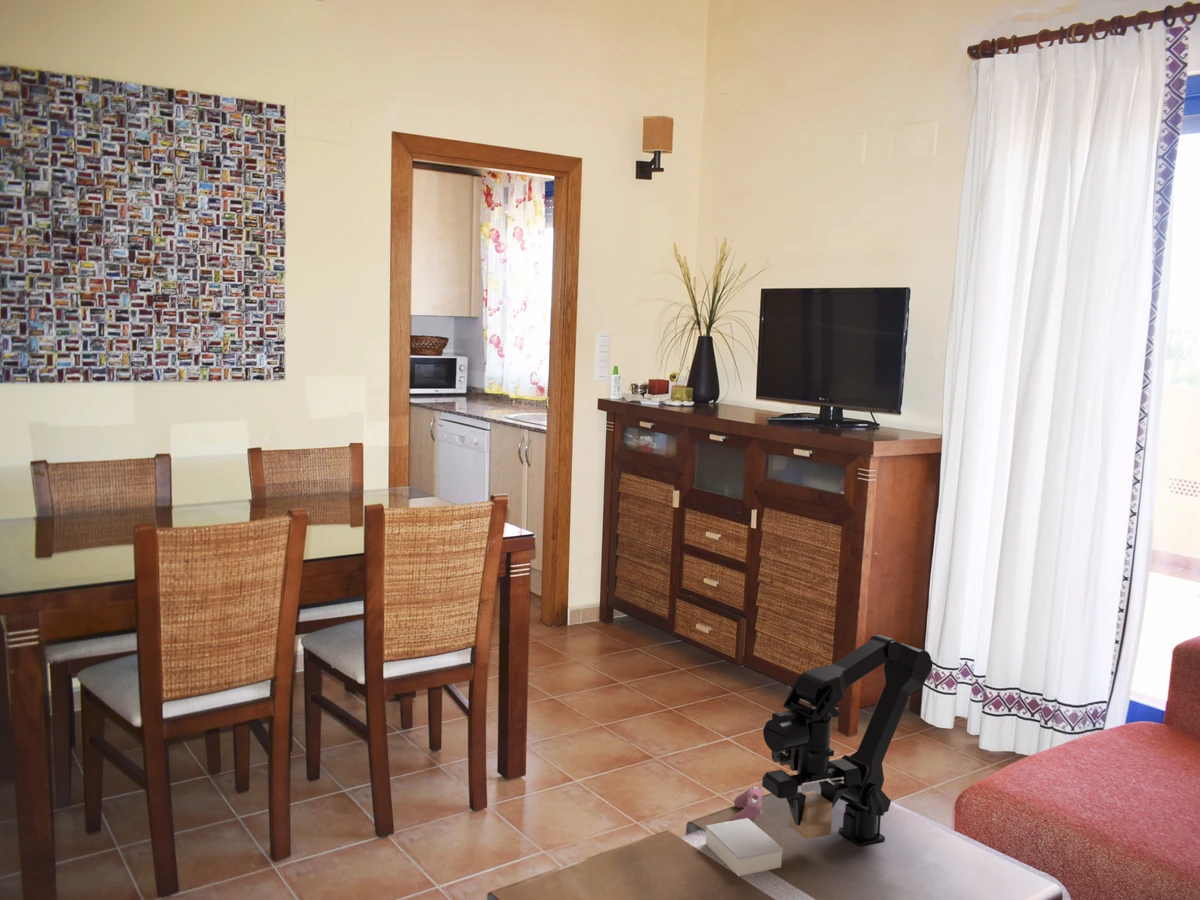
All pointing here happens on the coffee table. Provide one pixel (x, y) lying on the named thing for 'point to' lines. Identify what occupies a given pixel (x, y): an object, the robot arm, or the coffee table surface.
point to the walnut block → (814, 817)
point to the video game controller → (749, 804)
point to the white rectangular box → (743, 846)
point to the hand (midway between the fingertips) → (810, 821)
